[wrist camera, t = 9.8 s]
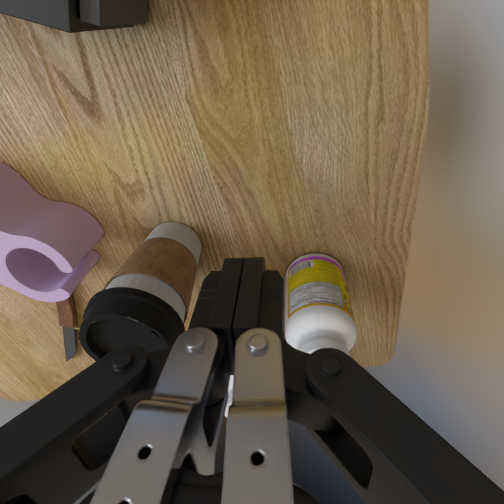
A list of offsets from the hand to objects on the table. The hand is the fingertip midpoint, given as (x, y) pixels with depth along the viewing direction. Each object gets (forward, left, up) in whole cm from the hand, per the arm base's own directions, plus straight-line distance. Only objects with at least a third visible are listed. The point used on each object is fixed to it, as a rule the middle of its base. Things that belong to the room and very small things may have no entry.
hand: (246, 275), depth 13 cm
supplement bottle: (+4, +17, -21) cm, 27 cm away
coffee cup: (+16, +6, -21) cm, 27 cm away
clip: (+30, -6, -21) cm, 37 cm away
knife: (+38, +10, -21) cm, 44 cm away
